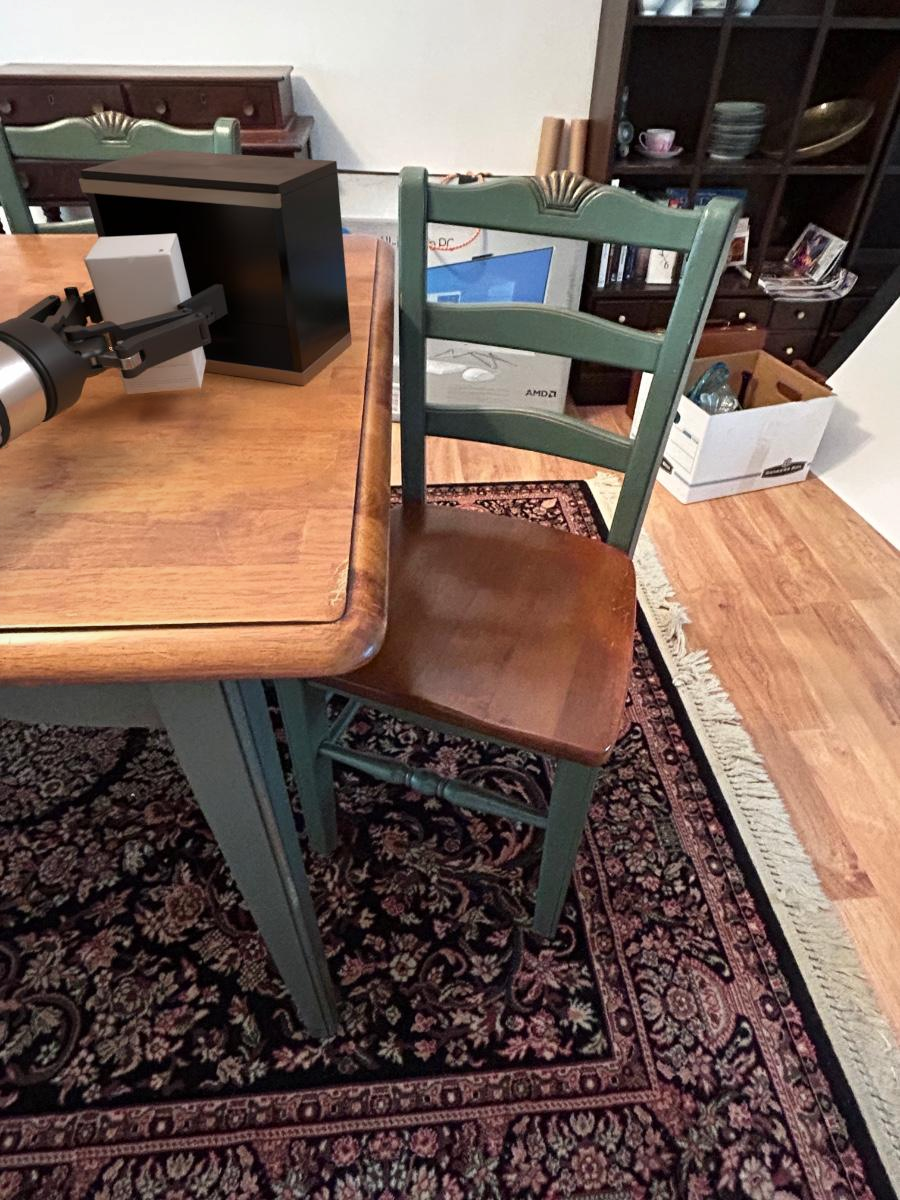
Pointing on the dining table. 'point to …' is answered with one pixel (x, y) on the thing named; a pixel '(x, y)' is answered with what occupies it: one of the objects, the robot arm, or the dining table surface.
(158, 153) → the open cubby shelf
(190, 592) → the dining table surface
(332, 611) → the dining table surface
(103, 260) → the white packaging box
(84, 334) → the robot arm
